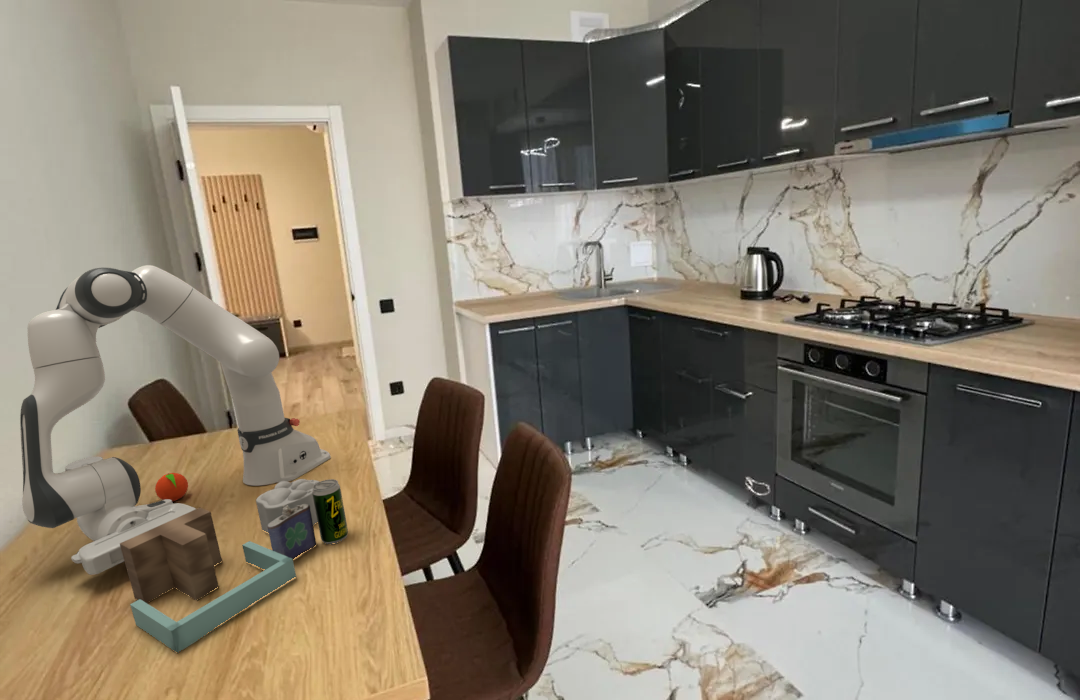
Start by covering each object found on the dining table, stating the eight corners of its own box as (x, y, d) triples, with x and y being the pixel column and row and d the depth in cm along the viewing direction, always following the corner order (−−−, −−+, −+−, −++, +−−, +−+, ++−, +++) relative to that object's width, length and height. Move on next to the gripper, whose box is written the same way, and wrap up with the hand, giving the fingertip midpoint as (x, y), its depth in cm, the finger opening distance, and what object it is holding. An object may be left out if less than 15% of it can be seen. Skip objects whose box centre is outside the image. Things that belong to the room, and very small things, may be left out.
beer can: (315, 544, 118) (305, 490, 115) (332, 530, 123) (322, 478, 120) (338, 546, 116) (327, 491, 113) (354, 532, 121) (344, 479, 118)
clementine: (196, 499, 144) (189, 472, 142) (164, 510, 139) (157, 483, 137) (186, 490, 149) (179, 465, 148) (155, 501, 144) (148, 475, 143)
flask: (281, 570, 110) (270, 518, 107) (271, 566, 111) (260, 516, 109) (320, 544, 118) (310, 496, 115) (310, 541, 119) (300, 494, 117)
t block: (211, 557, 116) (199, 507, 114) (245, 572, 110) (233, 520, 107) (134, 597, 105) (119, 543, 103) (166, 617, 99) (151, 560, 96)
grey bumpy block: (257, 527, 127) (249, 491, 125) (314, 503, 136) (307, 469, 134) (277, 542, 120) (269, 504, 118) (335, 516, 129) (329, 480, 127)
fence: (253, 559, 114) (249, 541, 113) (296, 578, 107) (292, 558, 106) (136, 625, 97) (130, 604, 96) (177, 653, 90) (171, 631, 89)
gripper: (63, 542, 110) (93, 560, 102) (176, 495, 126) (209, 507, 119) (72, 572, 111) (102, 592, 103) (182, 521, 128) (216, 535, 120)
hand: (160, 546), depth 111 cm, fingers closed
